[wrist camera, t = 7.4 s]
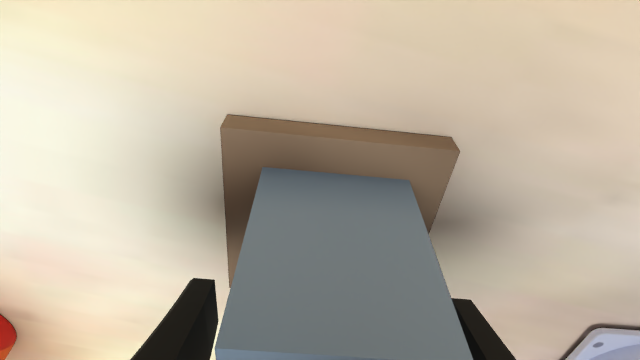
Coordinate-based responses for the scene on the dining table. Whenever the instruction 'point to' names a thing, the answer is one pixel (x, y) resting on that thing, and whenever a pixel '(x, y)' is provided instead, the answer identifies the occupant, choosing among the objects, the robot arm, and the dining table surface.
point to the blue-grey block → (338, 275)
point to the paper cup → (6, 337)
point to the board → (326, 163)
